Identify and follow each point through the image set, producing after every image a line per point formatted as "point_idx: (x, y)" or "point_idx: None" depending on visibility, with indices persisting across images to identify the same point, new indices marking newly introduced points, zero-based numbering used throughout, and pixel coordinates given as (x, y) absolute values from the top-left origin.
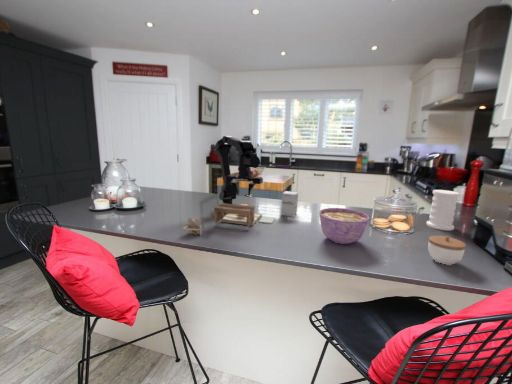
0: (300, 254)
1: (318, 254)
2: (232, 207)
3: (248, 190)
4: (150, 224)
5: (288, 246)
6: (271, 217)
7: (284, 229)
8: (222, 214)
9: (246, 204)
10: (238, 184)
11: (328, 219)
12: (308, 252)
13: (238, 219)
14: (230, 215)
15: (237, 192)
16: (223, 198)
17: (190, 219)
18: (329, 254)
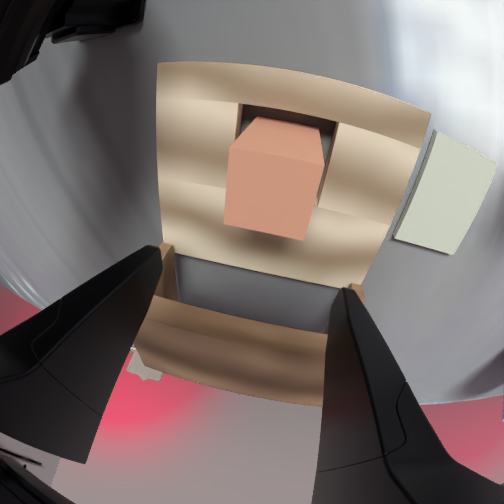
0: (422, 393)
1: (452, 388)
2: (227, 377)
3: (322, 419)
4: (36, 277)
5: (418, 380)
6: (481, 161)
7: (470, 302)
8: (164, 275)
9: (299, 166)
10: (40, 392)
11: (502, 417)
12: (441, 387)
13: (264, 253)
14: (188, 184)
15: (137, 316)
16: (24, 65)
17: (133, 369)
18: (468, 384)
